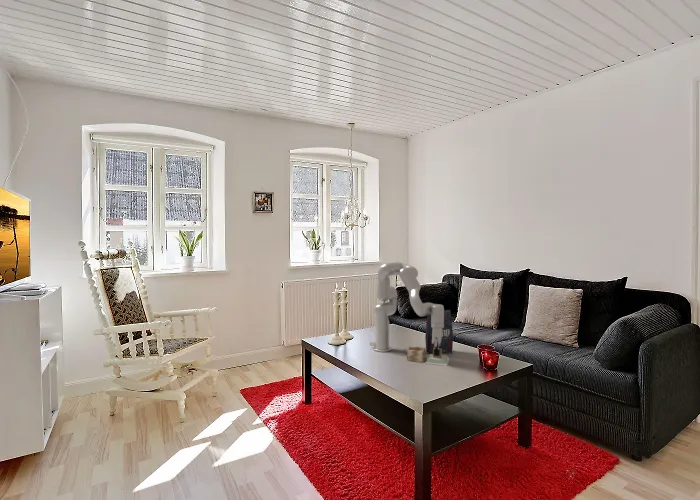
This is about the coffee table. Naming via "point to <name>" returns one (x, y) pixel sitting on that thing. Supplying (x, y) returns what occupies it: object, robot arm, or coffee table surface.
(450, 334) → the dark patterned coffee bag
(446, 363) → the mat
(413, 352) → the box
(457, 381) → the coffee table surface
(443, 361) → the lid
